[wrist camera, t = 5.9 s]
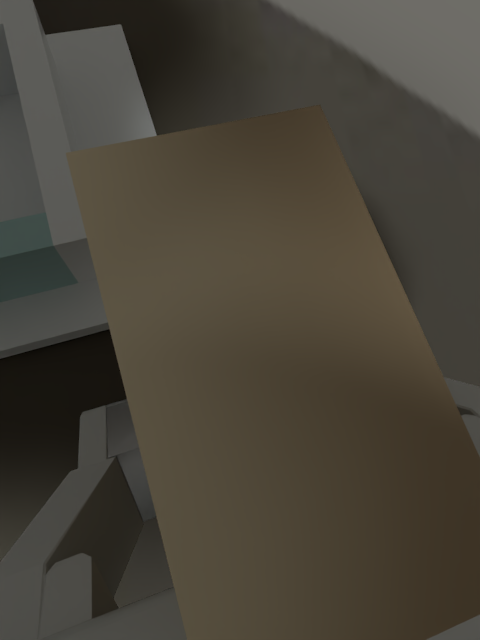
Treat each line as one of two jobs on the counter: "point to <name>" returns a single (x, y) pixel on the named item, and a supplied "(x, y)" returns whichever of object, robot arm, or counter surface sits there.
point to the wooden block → (280, 388)
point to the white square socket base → (55, 169)
